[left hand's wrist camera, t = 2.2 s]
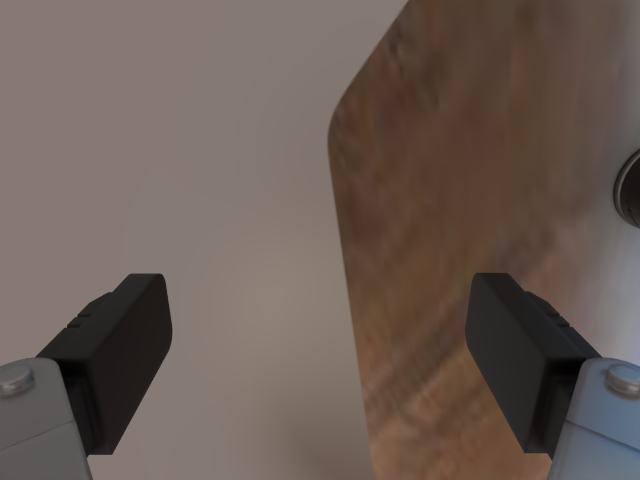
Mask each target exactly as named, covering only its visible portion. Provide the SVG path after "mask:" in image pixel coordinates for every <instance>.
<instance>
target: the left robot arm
mask: <svg viewBox="0 0 640 480" xmlns="http://www.w3.org/2000/svg"><path fill="white" fill-rule="evenodd" d="M614 199H615V205H616V208H617V211H618V213H619V214H620V216H621V217H622V218H623V219H624V220H625V221H626V222H628V223H629V224H631V225H633V226H635V227H637V228H639V229H640V150H639V151H638V152H637V153H636V154H635V155H634V156H633V157H632V158H631V159H630V160H629V161H628V162H627V163H626V165H625V166H624V168H623V169H622V171H621V173H620V175H619V177H618V179H617V182H616V186H615V192H614ZM465 332H466V341H467V346H468V349H469V351H470V353H471V355H472V356H473V358H474V360H475V362H476V364H477V366H478V368H479V369H480V371H481V373H482V375H483V377H484V379H485V381H486V382H487V384H488V386H489V388H490V390H491V392H492V394H493V395H494V397H495V399H496V401H497V403H498V405H499V407H500V408H501V410H502V412H503V414H504V416H505V418H506V420H507V421H508V423H509V425H510V427H511V429H512V431H513V433H514V434H515V436H516V438H517V440H518V442H519V444H520V446H521V447H522V449H523V451H524V453H548V455H549V457H550V458H551V460H552V465H551V468H550V471H549V475H548V478H547V480H640V366H637V365H635V364H632V363H629V362H626V361H622V360H618V359H613V358H603V357H602V356H601V355H600V354H599V353H598V352H597V351H596V350H595V349H594V348H593V347H592V346H591V345H590V344H589V343H588V342H587V341H586V340H585V339H584V338H583V337H582V336H581V335H580V334H579V333H578V332H577V331H576V330H575V329H574V328H573V327H570V324H569V323H568V322H567V321H566V320H565V319H564V318H563V317H562V316H559V313H558V312H557V311H556V310H555V309H554V308H553V307H552V306H551V305H550V304H549V303H548V302H547V301H545V300H543V299H541V298H540V297H538V296H536V295H534V294H532V293H531V292H525V291H524V290H523V289H522V288H521V287H520V286H519V285H518V284H517V283H516V281H515V280H514V279H513V278H512V277H511V276H510V275H509V274H507V273H476V274H475V275H474V277H473V280H472V286H471V292H470V299H469V306H468V313H467V320H466V329H465ZM171 341H172V322H171V315H170V309H169V302H168V295H167V289H166V282H165V279H164V277H163V275H162V274H129V275H128V276H127V277H126V278H125V279H124V280H123V281H122V282H121V284H120V285H119V286H118V287H117V288H116V289H115V290H114V291H113V292H108V293H106V294H104V295H103V296H101V297H99V298H97V299H95V300H94V301H92V302H90V303H89V304H88V305H87V306H86V307H85V308H84V309H83V310H82V311H81V312H80V313H79V314H78V316H77V317H75V318H74V319H73V320H72V321H71V322H70V323H69V324H68V325H67V328H64V329H63V330H62V331H61V332H60V333H59V334H58V335H57V336H56V337H55V338H54V339H53V340H52V341H51V342H50V343H49V344H48V345H47V346H46V347H45V348H44V349H43V350H42V351H41V352H40V353H39V354H38V355H37V356H36V357H35V358H27V359H22V360H18V361H14V362H11V363H8V364H5V365H3V366H0V480H93V478H92V475H91V471H90V468H89V465H88V461H87V457H88V455H112V454H113V452H114V450H115V448H116V447H117V445H118V443H119V441H120V439H121V437H122V436H123V434H124V432H125V430H126V428H127V426H128V424H129V423H130V421H131V419H132V417H133V415H134V414H135V412H136V410H137V408H138V406H139V404H140V402H141V401H142V399H143V397H144V395H145V393H146V391H147V390H148V388H149V386H150V384H151V382H152V380H153V379H154V377H155V375H156V373H157V371H158V369H159V368H160V366H161V364H162V362H163V360H164V358H165V357H166V355H167V353H168V351H169V349H170V345H171Z"/></svg>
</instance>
